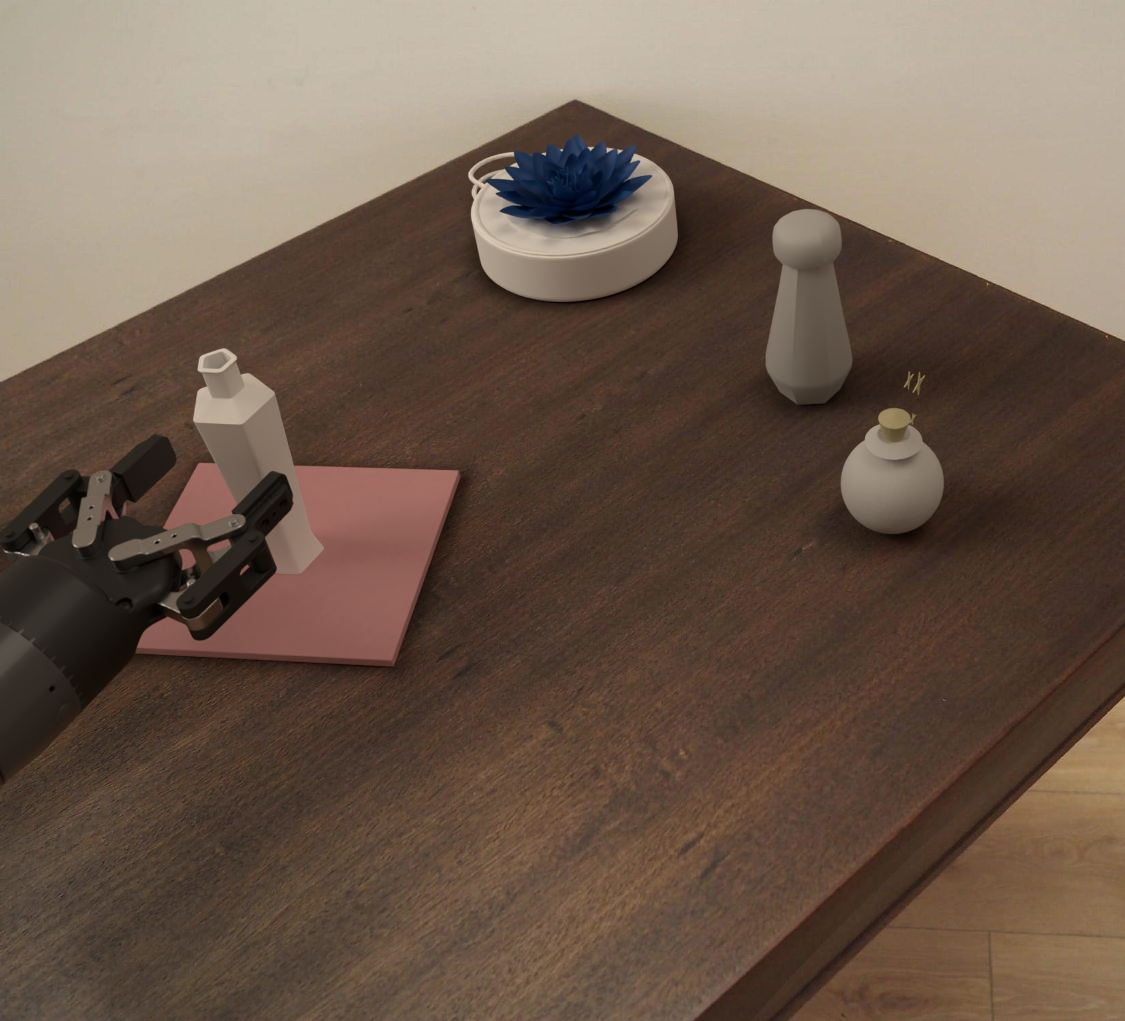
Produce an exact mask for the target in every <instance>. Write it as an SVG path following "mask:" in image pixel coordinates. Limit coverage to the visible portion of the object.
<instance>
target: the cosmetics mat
mask: <svg viewBox="0 0 1125 1021" xmlns="http://www.w3.org/2000/svg"><path fill="white" fill-rule="evenodd" d="M294 468H295V472H296V476H297V480H298V483H299V487H300V491H301V495H302V499H303V503H304V506H305V510H306V514H307V518H308V522H309V525H310V529H311V531H312V533H313V534H314V535H315V537H316V538H317V539H318V540H319V542H320V543H321V544H322V546H323V547H324V550H323V551H322V552H321V553H320V554H319V555H318V556H317V557H316V559H315V560H314V561H313V562H312V563H311V564H310V565H309V566H308V567H307V568H306V569H305V570H304V571H303V572H302V573H301V574H299V575H293V574H279V573H275V574H274V575H273V576H272V577H271V578H270V579H269V580H268V581H267V582H266V583H265V584H264V585H263V586H262V587H261V588H260V589H259V590H258V591H257V592H256V593H255V594H254V595H253V596H252V597H251V598H250V599H249V600H248V601H247V602H245V603H244V604H243V605H242V606H241V607H240V608H239V609H238V610H237V611H236V612H235V613H234V614H233V615H232V616H231V617H230V618H229V619H228V620H227V621H226V622H225V623H224V624H223V625H222V626H221V627H220V628H219V629H218V630H217V631H216V632H215V633H214V634H213V635H212V636H211V637H210V638H208V639H206V640H202V641H197V640H194V639H193V638H192V636H191V634H190V632H189V630H188V628H187V626H186V625H184V624H182V623H180V622H178V621H176V620H173V619H171V618H169V617H166V618H165V619H163V620H161V621H158V622H157V623H155V624H153V625H152V626H150V627H149V628H147V629H146V630H145V631H144V633H143V634H142V636H141V638H140V641H139V643H138V646H137V649H136V652H135V654H138V655H139V654H140V655H155V656H156V655H157V656H158V655H159V656H176V657H177V656H178V657H197V658H199V657H200V658H215V659H237V660H256V661H275V662H276V661H277V662H278V661H279V662H295V663H296V662H297V663H298V662H299V663H313V664H314V663H317V664H333V665H334V664H336V665H356V666H371V667H372V666H374V667H391V668H393V667H394V666H395V664H396V661H397V659H398V656H399V653H400V651H401V650H400V649H401V648H402V644H403V641H404V638H405V635H406V633H407V630H408V627H409V625H410V622H411V619H412V616H413V612H414V611H415V607H416V605H417V602H418V599H419V596H420V594H421V590H422V587H423V586H424V582H425V579H426V576H427V573H428V571H429V567H430V565H431V561H432V559H433V556H434V553H435V550H436V547H437V544H438V543H439V542H438V541H439V539H440V536H441V533H442V531H443V528H444V525H445V522H446V519H447V516H448V513H449V510H450V508H451V505H452V502H453V499H454V497H455V495H456V492H457V489H458V485H459V484H460V483H459V482H460V480H461V474H460V470H456V469H455V470H454V469H424V468H423V469H422V468H421V469H420V468H394V467H393V468H389V467H388V468H387V467H359V466H358V467H354V466H323V465H320V466H319V465H294ZM236 506H237V503H236V501H235V499H234V497H233V496H232V494H231V492H230V490H229V488H228V486H227V484H226V482H225V480H224V478H223V477H222V475H221V473H220V471H219V469H218V467H217V465H216V463H215V462H198V463H197V465H196V467H195V469H194V471H193V472H192V474H191V476H190V478H189V479H188V482H187V483H186V485H185V487H184V489H183V491H182V492H181V494H180V496H179V498H178V500H177V501H176V503H175V504H174V507H173V508H172V511H171V512H170V514H169V516H168V518H167V520H166V521H165V523H164V524H163V526H162V528H164V529H167V530H171V529H173V528H176V527H179V526H182V525H184V524H187V523H195V524H197V525H199V526H203V525H206V524H208V523H211V522H214V521H216V520H219V519H222V518H225V517H227V516H230V515H233V514H232V510H233V509H234V508H235V507H236ZM230 545H231V544H230V542H229V540H228V539H226V540H224V541H221V542H218V543H216V544H213V545H211V546H209V547H208V548H207V549H208V551H211V552H213V551H217V550H219V549H222V548H225V547H227V546H230ZM179 552H180V554H181V556H182V560H183V565H182V570H184V569H187V568H189V567H191V566H193V565H194V564H195V562H196V560H195V558H194V556H193V554H192V552H191V551H190V550H187V549H181V550H179ZM247 568H249V566H248V565H246V566H245V567H244V568H243V569H242V570H241V573H240V575H241V574H242V573H243V572H244V571H245V570H246V569H247Z"/></svg>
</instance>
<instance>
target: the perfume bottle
mask: <svg viewBox="0 0 1125 1021" xmlns="http://www.w3.org/2000/svg"><path fill="white" fill-rule="evenodd" d="M237 360H238V356H237V355H235V354H234V353H233V352H232V351H231V350H229V349H228V348H226V347H225V348H223V347H222V348H220V349H216V350H213V351H211V352H210V351H209V352H207V353H204V354H202V355H200V356H199V358H198V364H197V372H199V373H201V375H202V377H203V380H204V383H205V385H206V386H205V387H202V388H200V389H198V390H197V393H196V400H195V404H194V411H193V418H192V422H193V423H194V425H195V427H196V429H197V431H198V432H199V435H200V437H201V439H202V440H203V442H204V444H205V446H206V448H207V450H208V452H209V453H210V456H211V457H212V460H213V461H214V463H216V465H217V467H218V469H219V471H220V473H221V475H222V477H223V478H224V480H225V482H226V484H227V486H228V488H229V490H230V492H231V494H232V496H233V497H234V499H235V501H236V503H237V505H238V504H239V503H240V502H241V501H242V500H243V499H244V498H245V497H246V496H247V495H248V494H249V492H250V491H251V490H252V489H253V488H254V487H255V486H256V485H257V484H258V483H259V482H260V481H261V480H262V479H263V478H264V477H265V476H266V475H267V474H268V473H269V472H271V471H276V472H279V473H282V474H285V475H286V477H287V479H288V482H289V485H290V487H291V490H292V493H293V503H294V504H293V506H292V509H291V511H290V512H289V513H288V514H287V515H286V516H284V518H283V519H282V520H281V521H279V523H278V524H277V525H276V526H275V528H274V529H273V530H272V531H271V532H270V533H269V534H268V535H267V536H266V537H265V539H266V542H267V544H268V546H269V549H270V551H271V554H272V556H273V559H274V561H275V564H276V566H277V571H276V573H279V574H293V575H299V574H301V573H302V572H303V571H304V570H305V569H306V568H307V567H308V566H309V565H310V564H311V563H312V562H313V561H314V560H315V559H316V557H317V556H318V555H319V554H320V553H321V552H322V551H323V550H324V547H323V546H322V544H321V543H320V542H319V540H318V539H317V538H316V537H315V535H314V534H313V533H312V531H311V529H310V525H309V522H308V518H307V514H306V510H305V506H304V503H303V499H302V495H301V491H300V487H299V483H298V480H297V476H296V472H295V468H294V466H295V465H294V460H293V456H292V454H291V450H290V449H291V448H290V446H289V443H288V437H287V434H286V431H285V427H284V423H283V419H282V416H281V412H280V407H279V404H278V399H277V396H276V393H275V391H274V390H273V389H271V388H270V387H269V386H267V385H266V384H265V383H264V382H262V381H261V380H260V379H258V378H257V377H255V376H254V375H253V374H251V373H249V372H247V373H242V374H241V372H240V368H239V366H238V364H237Z"/></svg>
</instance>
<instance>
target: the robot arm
mask: <svg viewBox="0 0 1125 1021" xmlns="http://www.w3.org/2000/svg"><path fill="white" fill-rule="evenodd" d="M177 460H178V459H177V454H176V452H175V450H174V448H173V445H172V442H171V441H170V439H169V437H167V436H166V435H165V436H164V435H161V434H158V433H153V434H151V436H149V437H148V438H147V439H146V440H143V441H141V442H140V443H138V444H136V445H135V446H134V447H132V449H131V450H130V451H128V452H127V453H126V454H125V455H124V456H123V457H122V458H121V459H120V460H118V462H116V463H115V464H114V465H113V466H112V467H111V468H109V469H108V470H105V469H102V470H99V471H96V472H94V473H93V474H91V475H87V476H86V475H82V474H81V473H80V471H79V470H77V469H75V468H72V469H67V470H65V471H63V472H61V473H60V474H59V475H58V476H57V477H55V479H54V480H53V481H52V482H51V483H50V484H48V486H46V488H44V489H43V490H42V491H41V492H40V493H39V494H38V495H37V496H36V497H35V498H34V499H33V500H32V501H31V502H30V503H29V504H28V505H26V507H25V508H23V510H22V511H21V512H19V513H18V515H16V516H15V517H14V518H13V519H12V520H11V521H10V522H9V523H8V524H7V525H6V526H5V527H4V528H3V529H2V530H1V531H0V545H1V547H2V550H3V552H4V553H5V555H6V557H7V559H8V560H9V562H10V563H11V565H10V566H9V567H8V568H6V570H5V571H3V572H2V573H1V574H0V790H1V789H2V787H3V786H5V785H6V784H7V783H8V782H9V781H10V780H11V779H12V778H14V777H15V776H16V775H17V774H18V773H20V772H21V771H22V770H23V769H25V768H26V767H27V766H28V765H30V764H32V762H33V761H35V760H36V759H37V758H38V757H39V756H40V755H41V754H43V753H44V752H45V750H47V749H48V748H49V747H50V746H51V744H53V743H54V741H56V740H57V739H58V737H59V736H60V735H61V734H62V733H63V732H64V731H65V730H66V729H67V728H68V727H69V726H70V725H71V723H72V722H74V720H75V719H77V717H79V715H81V713H83V711H84V710H85V709H86V708H87V707H88V706H89V705H90V704H91V703H92V702H93V701H94V699H96V698H97V697H98V696H99V694H100V693H101V692H103V691H104V689H105V688H106V687H107V686H109V684H110V683H111V682H112V681H113V680H114V679H115V678H116V677H117V676H118V675H119V674H120V673H121V672H122V671H123V670H124V669H125V667H126V666H128V665H129V663H130V662H131V661H132V660H133V658H134V657H135V655H136V653H135V652H136V649H137V646H138V643H139V641H140V638H141V636H142V634H143V633H144V631H145V630H146V629H147V628H149V627H150V626H152V625H153V624H155V623H157V622H158V621H161V620H163V619H165V618H166V617H169V618H171V619H173V620H176V621H178V622H180V623H182V624H184V625H186V626H187V628H188V630H189V632H190V634H191V636H192V638H193V639H194V640H197V641H202V640H206V639H208V638H210V637H211V636H212V635H213V634H214V633H215V632H216V631H217V630H218V629H219V628H220V627H221V626H222V625H223V624H224V623H225V622H226V621H227V620H228V619H229V618H230V617H231V616H232V615H233V614H234V613H235V612H236V611H237V610H238V609H239V608H240V607H241V606H242V605H243V604H244V603H245V602H247V601H248V600H249V599H250V598H251V597H252V596H253V595H254V594H255V593H256V592H257V591H258V590H259V589H260V588H261V587H262V586H263V585H264V584H265V583H266V582H267V581H268V580H269V579H270V578H271V577H272V576H273V575H274V574H275V573H276V571H277V566H276V564H275V561H274V559H273V556H272V554H271V551H270V549H269V546H268V544H267V542H266V539H265V537H266V536H267V535H268V534H269V533H270V532H271V531H272V530H273V529H274V528H275V526H276V525H277V524H278V523H279V521H281V520H282V519H283V518H284V516H286V515H287V514H288V513H289V512H290V511H291V509H292V506H293V504H294V503H293V493H292V490H291V487H290V485H289V482H288V479H287V477H286V475H285V474H282V473H279V472H276V471H271V472H269V473H268V474H267V475H266V476H265V477H264V478H263V479H262V480H261V481H260V482H259V483H258V484H257V485H256V486H255V487H254V488H253V489H252V490H251V491H250V492H249V494H248V495H247V496H246V497H245V498H244V499H243V500H242V501H241V502H240V503H239V504H238V505H237V506H236V507H235V508H234V509H233V510H232V514H233V515H230V516H227V517H225V518H222V519H219V520H216V521H214V522H211V523H208V524H206V525H203V526H199V525H197V524H195V523H187V524H184V525H182V526H179V527H176V528H173V529H171V530H167V529H164V528H163V527H161V526H157V525H148V524H143V523H141V522H140V521H139V520H137V519H136V518H134V517H131V516H128V515H127V508H128V505H127V503H126V502H128V501H129V502H131V503H134V504H136V503H137V502H138V501H139V500H140V499H141V498H142V497H143V496H144V495H146V494H147V493H148V492H149V491H150V490H151V489H152V488H153V487H154V486H155V485H156V484H157V483H158V482H159V481H160V480H161V479H163V478H164V476H166V475H167V474H168V473H169V472H170V471H171V470H172V469H173V468H174V467H175V466H176V464H177ZM66 499H67V501H68V503H69V504H68V505H67V506H66V507H64V509H63V510H61V511H60V506H61V504H62V503H63V502H65V501H66ZM226 539H228V540H229V542H230V544H231V545H230V546H227V547H225V548H222V549H219V550H217V551H213V552H211V551H208V549H207V548H208V547H209V546H211V545H213V544H216V543H218V542H221V541H224V540H226ZM181 549H187V550H190V551H191V552H192V554H193V556H194V558H195V560H196V562H195V564H194V565H193V566H191V567H189V568H187V569H184V570H182V565H183V560H182V556H181V554H180V552H179V550H181ZM246 565H248V566H249V568H247V569H246V570H245V571H244V572H243V573H242V574H241V575H240V573H241V570H242V569H243V568H244V567H245V566H246Z"/></svg>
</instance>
